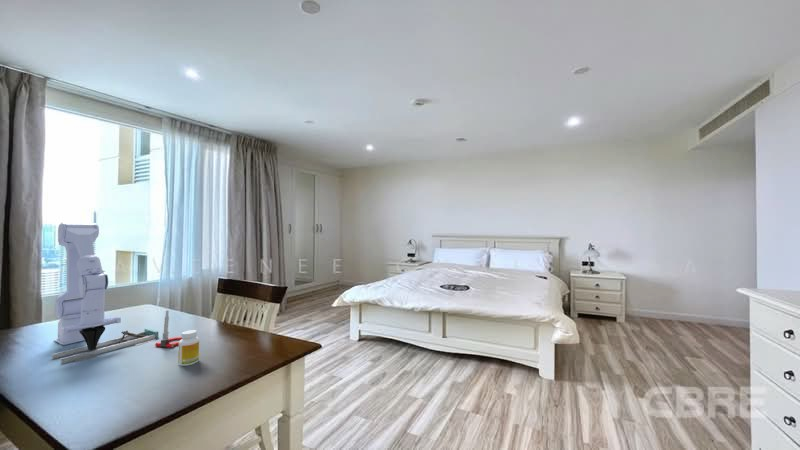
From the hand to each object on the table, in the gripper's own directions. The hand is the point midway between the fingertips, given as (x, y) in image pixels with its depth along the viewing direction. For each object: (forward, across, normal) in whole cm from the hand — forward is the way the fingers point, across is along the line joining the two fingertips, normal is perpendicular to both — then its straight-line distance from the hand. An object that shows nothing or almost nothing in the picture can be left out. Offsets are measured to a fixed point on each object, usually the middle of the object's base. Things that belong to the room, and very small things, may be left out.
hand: (91, 349), depth 104 cm
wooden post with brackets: (+1, +11, -1) cm, 12 cm away
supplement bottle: (+1, +10, -37) cm, 39 cm away
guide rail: (+1, +5, 0) cm, 5 cm away
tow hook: (+1, +18, -15) cm, 23 cm away
